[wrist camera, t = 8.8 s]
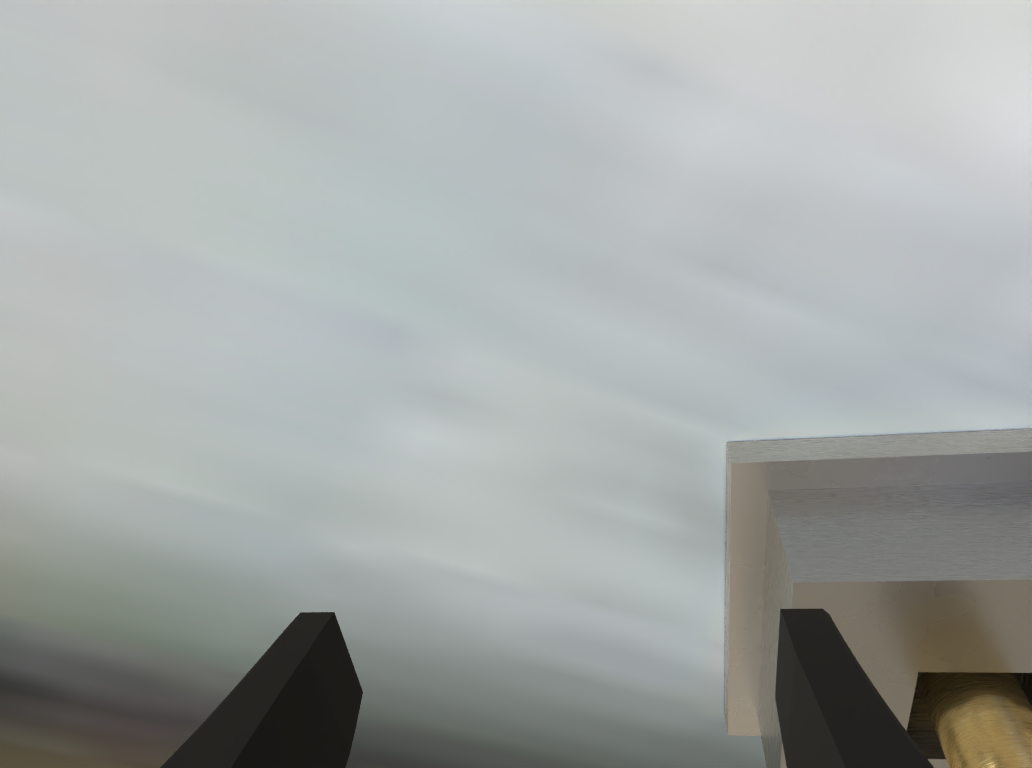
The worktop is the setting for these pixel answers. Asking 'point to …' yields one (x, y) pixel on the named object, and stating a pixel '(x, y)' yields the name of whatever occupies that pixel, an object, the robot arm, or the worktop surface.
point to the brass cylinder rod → (979, 718)
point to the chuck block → (879, 564)
